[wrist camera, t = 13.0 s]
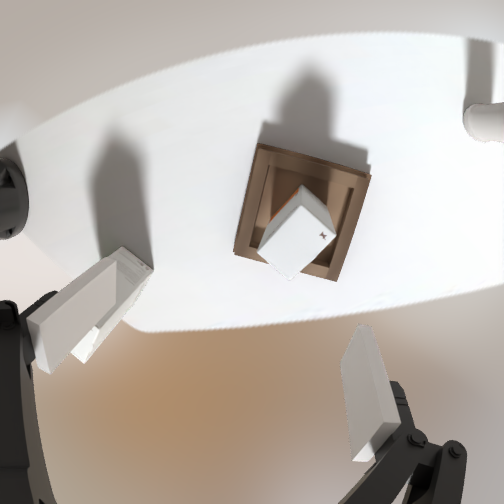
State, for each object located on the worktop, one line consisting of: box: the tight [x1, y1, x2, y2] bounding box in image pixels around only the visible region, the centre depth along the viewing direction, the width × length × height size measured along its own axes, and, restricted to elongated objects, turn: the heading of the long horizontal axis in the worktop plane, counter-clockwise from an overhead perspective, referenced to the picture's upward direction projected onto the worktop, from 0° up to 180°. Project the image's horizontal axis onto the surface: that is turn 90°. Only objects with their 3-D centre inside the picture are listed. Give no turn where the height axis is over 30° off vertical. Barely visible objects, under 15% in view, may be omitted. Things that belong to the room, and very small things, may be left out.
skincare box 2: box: [257, 184, 336, 281], centre depth 32 cm, size 6×4×12 cm
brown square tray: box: [233, 143, 372, 282], centre depth 37 cm, size 14×14×3 cm
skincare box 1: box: [71, 246, 154, 363], centre depth 39 cm, size 8×7×16 cm
